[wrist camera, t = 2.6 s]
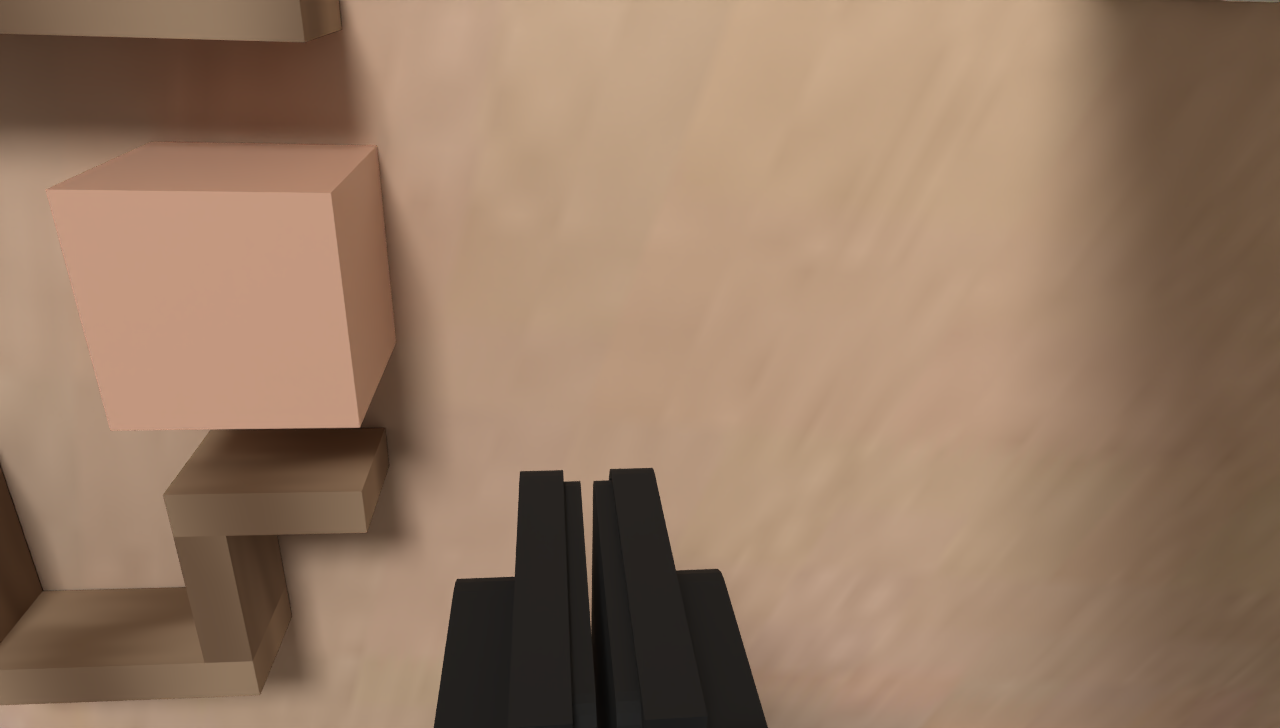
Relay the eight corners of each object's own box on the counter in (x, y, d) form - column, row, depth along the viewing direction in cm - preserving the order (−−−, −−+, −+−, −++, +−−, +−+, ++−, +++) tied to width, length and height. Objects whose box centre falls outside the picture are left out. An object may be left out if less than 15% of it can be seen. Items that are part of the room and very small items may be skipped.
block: (377, 144, 20) (330, 193, 16) (396, 340, 22) (359, 427, 18) (153, 140, 19) (45, 189, 15) (195, 341, 22) (110, 430, 18)
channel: (335, -32, 18) (295, -29, 15) (405, 613, 26) (387, 690, 23) (-241, -52, 17) (-390, -53, 14) (9, 625, 25) (-58, 707, 22)
